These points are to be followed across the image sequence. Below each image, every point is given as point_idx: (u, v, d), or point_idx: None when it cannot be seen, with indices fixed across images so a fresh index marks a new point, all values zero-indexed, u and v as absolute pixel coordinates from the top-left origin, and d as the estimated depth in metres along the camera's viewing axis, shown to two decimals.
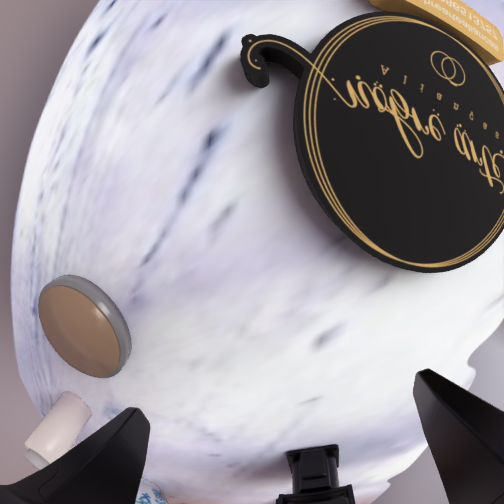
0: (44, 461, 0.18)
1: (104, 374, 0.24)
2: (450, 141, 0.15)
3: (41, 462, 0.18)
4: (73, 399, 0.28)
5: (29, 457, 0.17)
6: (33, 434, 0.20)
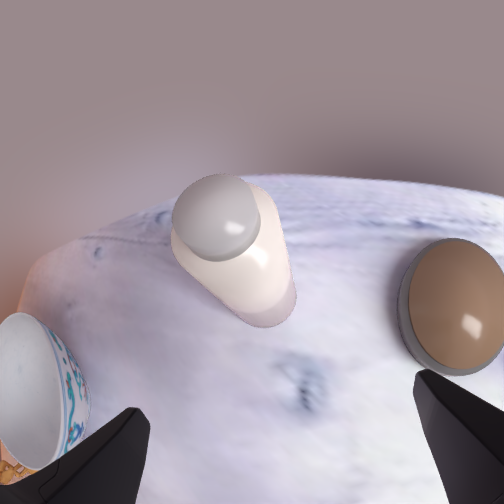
0: (246, 244, 0.12)
1: (434, 355, 0.16)
2: None
3: (248, 235, 0.11)
4: (295, 294, 0.22)
5: None
6: None
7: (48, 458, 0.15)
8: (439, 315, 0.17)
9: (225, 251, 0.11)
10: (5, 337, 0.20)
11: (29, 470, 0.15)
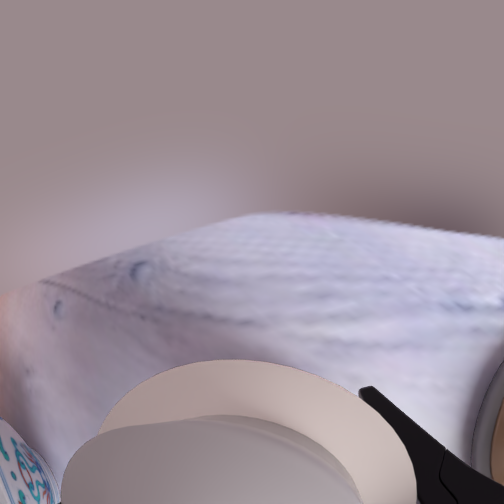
0: None
1: None
2: None
3: None
4: None
5: None
6: None
7: None
8: None
9: None
10: None
11: None
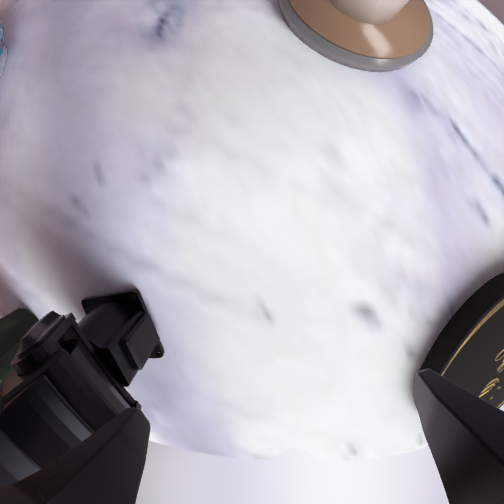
0: None
1: (300, 12, 0.13)
2: (494, 377, 0.19)
3: None
4: (392, 16, 0.11)
5: None
6: None
7: None
8: None
9: None
10: None
11: None
